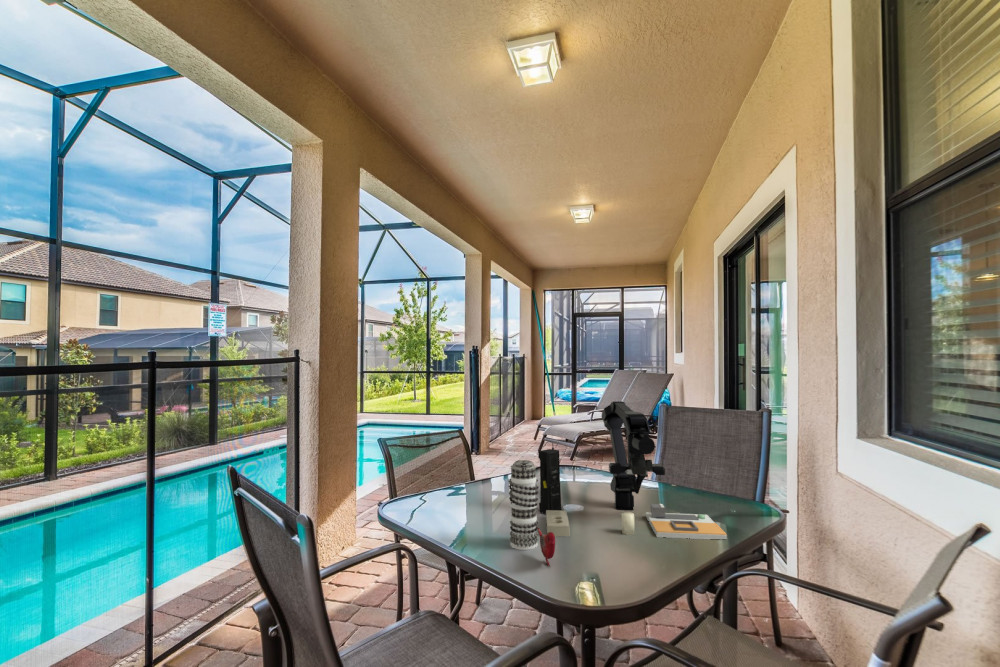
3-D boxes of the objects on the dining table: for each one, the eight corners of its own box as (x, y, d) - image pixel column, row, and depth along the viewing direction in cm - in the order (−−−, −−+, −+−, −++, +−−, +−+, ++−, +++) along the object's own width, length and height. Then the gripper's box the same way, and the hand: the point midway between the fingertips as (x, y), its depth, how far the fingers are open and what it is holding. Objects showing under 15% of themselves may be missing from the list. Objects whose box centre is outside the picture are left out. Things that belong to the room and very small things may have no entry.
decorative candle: (509, 538, 145) (508, 458, 147) (538, 539, 145) (537, 458, 146) (508, 550, 136) (508, 464, 138) (540, 550, 136) (538, 464, 137)
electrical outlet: (566, 507, 164) (569, 525, 146) (566, 519, 164) (569, 538, 146) (545, 507, 165) (547, 524, 147) (546, 519, 165) (547, 537, 147)
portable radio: (548, 516, 166) (547, 446, 168) (536, 512, 171) (535, 444, 172) (562, 511, 171) (561, 444, 173) (551, 508, 176) (550, 442, 178)
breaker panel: (657, 537, 146) (656, 528, 146) (645, 516, 165) (645, 509, 166) (726, 540, 143) (726, 531, 143) (707, 518, 162) (706, 511, 163)
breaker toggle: (653, 516, 159) (652, 506, 160) (651, 513, 163) (650, 503, 164) (665, 517, 159) (664, 507, 159) (662, 513, 163) (662, 503, 163)
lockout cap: (622, 534, 148) (622, 515, 148) (621, 530, 152) (620, 511, 152) (635, 535, 147) (635, 516, 148) (633, 530, 151) (633, 512, 152)
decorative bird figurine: (548, 575, 120) (548, 536, 120) (533, 548, 137) (533, 514, 138) (559, 574, 120) (559, 535, 121) (542, 548, 137) (542, 514, 138)
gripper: (611, 452, 157) (612, 499, 156) (668, 453, 154) (669, 501, 153) (608, 446, 168) (609, 490, 167) (661, 447, 165) (662, 491, 164)
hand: (636, 493), depth 163 cm, fingers closed
